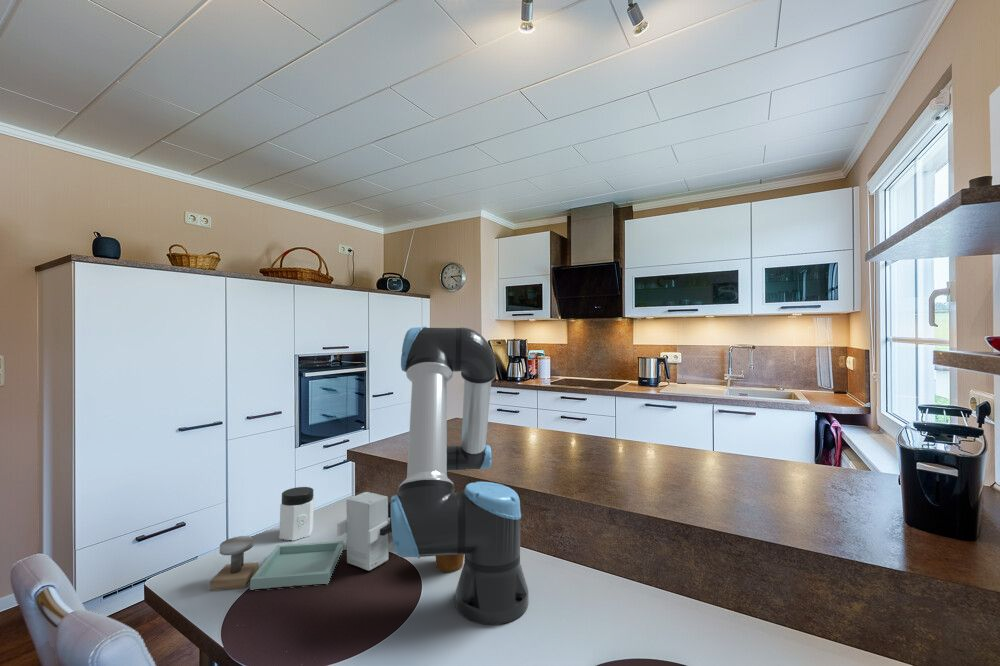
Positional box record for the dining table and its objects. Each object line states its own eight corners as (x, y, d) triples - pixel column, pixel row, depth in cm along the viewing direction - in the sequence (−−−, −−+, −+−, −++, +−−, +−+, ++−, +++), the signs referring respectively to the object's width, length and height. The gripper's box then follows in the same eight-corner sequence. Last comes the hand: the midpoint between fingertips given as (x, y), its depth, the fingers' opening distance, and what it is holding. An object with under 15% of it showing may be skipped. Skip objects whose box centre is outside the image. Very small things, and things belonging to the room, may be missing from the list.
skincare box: (389, 560, 101) (390, 496, 102) (367, 572, 95) (368, 504, 96) (365, 552, 105) (367, 490, 106) (344, 563, 100) (345, 497, 100)
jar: (283, 544, 110) (285, 498, 111) (274, 534, 116) (276, 491, 117) (318, 534, 116) (319, 491, 117) (308, 525, 122) (309, 484, 123)
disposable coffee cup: (475, 560, 102) (476, 510, 103) (458, 579, 93) (458, 525, 94) (442, 553, 106) (442, 505, 106) (422, 571, 97) (422, 519, 98)
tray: (328, 584, 91) (328, 573, 91) (249, 590, 88) (250, 579, 89) (343, 550, 107) (343, 540, 107) (277, 555, 104) (277, 545, 104)
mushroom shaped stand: (245, 587, 90) (246, 548, 90) (210, 590, 89) (211, 550, 89) (258, 570, 97) (259, 534, 97) (225, 573, 95) (227, 536, 96)
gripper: (443, 522, 112) (389, 559, 92) (381, 509, 121) (319, 541, 101) (444, 494, 113) (390, 525, 92) (382, 484, 122) (320, 509, 101)
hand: (353, 533), depth 96 cm, fingers closed on skincare box, 9 cm apart
